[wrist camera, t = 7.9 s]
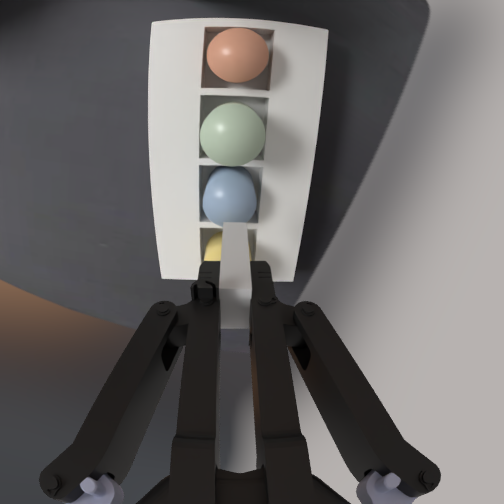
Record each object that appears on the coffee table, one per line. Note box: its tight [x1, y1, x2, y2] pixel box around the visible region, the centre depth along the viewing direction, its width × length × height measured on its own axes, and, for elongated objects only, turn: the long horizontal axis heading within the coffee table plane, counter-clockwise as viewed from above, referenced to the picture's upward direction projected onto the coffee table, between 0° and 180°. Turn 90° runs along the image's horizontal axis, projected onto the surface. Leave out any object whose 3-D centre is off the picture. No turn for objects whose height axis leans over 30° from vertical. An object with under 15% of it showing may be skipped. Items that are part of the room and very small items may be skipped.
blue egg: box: [203, 165, 257, 227], centre depth 25 cm, size 4×4×4 cm
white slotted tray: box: [148, 18, 328, 281], centre depth 24 cm, size 25×14×4 cm, turn 176°
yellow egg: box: [204, 231, 251, 261], centre depth 26 cm, size 4×4×4 cm
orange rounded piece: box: [207, 28, 269, 83], centre depth 18 cm, size 4×4×4 cm
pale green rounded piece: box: [200, 101, 266, 167], centre depth 20 cm, size 4×4×4 cm
